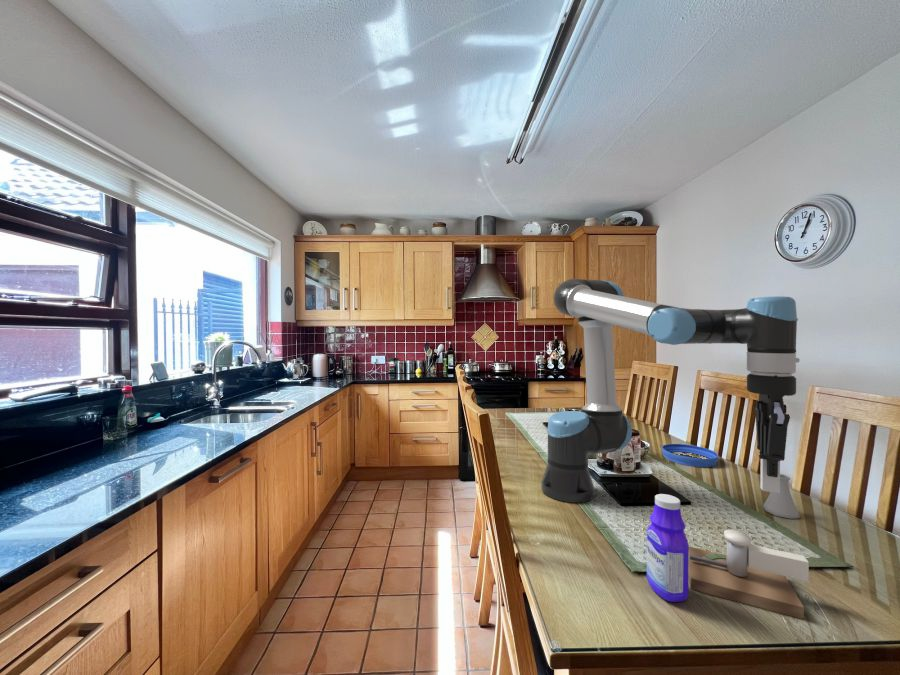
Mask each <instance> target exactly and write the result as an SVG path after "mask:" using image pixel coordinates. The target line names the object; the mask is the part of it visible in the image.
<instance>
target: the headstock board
mask: <svg viewBox="0 0 900 675" xmlns="http://www.w3.org/2000/svg"><path fill="white" fill-rule="evenodd" d="M690 555H694V556H698V557H702V558H706V559H711V560H715V561H719V562H723V563H726V554H723V553H718V552H714V551H709V550H706V549H700V548H697V547H692V546H689V557H690ZM688 571H689V575H688V576H689V583H688V584H689V587H690V590H694V591H697V592H700V593H705V594H708V595H712V596H716V597H718V598H719V597H720V598H723V599H727V600H731V601H733V602H734V601H735V602H738V603H740V604H741V603H742V604H746V605H748V606H752V607H756V608H759V609H764V610H767V611H771V612H774V613H775V612H776V613H778V614H782V615H786V616H788V617H789V616H790V617H793V618H798V619H801V620H805V619H804V618H805V608H804V607H805V606H804V605H803V604H802V601H801V600H800V598H799V597H798V596H797V594H796V592H795V590H794V588H793V587H792V585H791V584H790V582H789V580H788V578H787V576H783V575H778V574H774V573H770V572H765V571H761V570H757V569H753V568H749V567H748V565H747V576H745V577H741V576H737V575H734V574H732V573H730V572H729V571H728V570H727V569H726V568H724V567H720V566H715V565H711V564H707V563H703V562H699V561H695V560H690V558H689V565H688Z"/></svg>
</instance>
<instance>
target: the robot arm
mask: <svg viewBox="0 0 900 675" xmlns="http://www.w3.org/2000/svg"><path fill="white" fill-rule="evenodd" d="M553 302H554V306H555V307H556V309H557V310H558V311H559V312H560V313H561V314H563V315H564V316H565V315H566V316H570V317H573V318H577V324H579V326H580V327H582V328H583V342H584V343H583V345H584V362H585V363H584V364H585V381H586V382H585V384H586V387H585V388H586V403H585V405H584V406H583V407H582V411H577V410H571V411H568V410H563V411H558V412H556V413H553V414H551V415H550V417H549V418H548V422H547V429H546V432H547V463H546V467H545V471H544V472H543V476H542V477H541V478H542V479H541V481H540V482H541V485H540V486H541V491H542V493H543V494H544V495H546V496H547V497H549V498H552V499H553V500H558V501H561V502H567V503H584V502H589V501H591V500H592V499H593V498H594V497H595V486H594V483H593V479H592V477H591V473H590V471H589V456H591V455H596V454H604V453H614V452H616V451H617V452H618V451H619V450H622V449H624V448H626V447H627V446H628V445H629V443H630V442H631V439H632V435H633V433H632V432H633V430H632V425H631V422H630V421H629V419H628V417H627V416H626V415H625V414H623V408H622V407H621V406H620V405H619V404H618V403H617V390H616V388H617V387H616V368H615V353H614V351H615V350H614V334H613V333H614V332H613V329H614V328H613V327H614V326H617V327H620V328H622V329H623V328H624V329H627V330H630V331H634V332H635V333H640V334H644V335H648V336H650V337H651V338H652V339H653V340H654V341H656V342H657V343H661V344H665V345H667V344H668V345H673V346H676V345H691V344H694V345H695V344H696V345H697V344H709V345H710V344H739V345H740V344H743V345H746V350H747V352H746V371H747V372H749V373H748V374H747V375H746V390H747V391H748V392H749V393H753V394H757V395H758V400H756V401H755V402H754V404H753V407H754V412H755V425H756V426H755V427H756V430H755V431H756V448H757V450H758V452H759V454H758V457H759V459H760V467H759V468H760V477H759V478H760V483H759V485H760V486H759V487H760V489H761V491H762V492H770V493H771V492H774V493H780V474H781V461H783V462H784V460H785V458H786V457H785V455H786V448H787V446H786V445H787V437H788V426H789V422H790V419H791V417H790V416H791V415H789V413H787V405H786V404H785V403H784V399H783V398H784V397H785V396H787V397H791V396H795V395H796V393H797V378H796V376H794V375H793V374H795V373H797V363H800V361H801V360H800V358H799V357H797V330H798V328H797V326H798V325H797V324H798V323H797V322H798V320H799V318H798V315H797V303H796V300H795V299H794V298H793V297H790V296H784V295H781V296H775V295H774V296H760V297H752V298H750V299H748V300H747V303H746V307H745V308H740V309H739V308H738V309H735V308H734V309H700V308H699V309H698V308H695V309H693V308H685V307H684V308H683V307H677V306H673V305H668V304H667V305H666V304H663V303H657V302H652V301H647V300H642V299H639V298H633V297H627V296H625V294H624V292H623V290H622V288H621V287H620V286H619V285H618V284H617V283H616V282H613V281H609V280H603V279H586V278H585V279H584V278H571V279H567V280H565V281H563V282H561V283H560V284H559V285H558V287H557V288H556V289H555V291H554V294H553Z"/></svg>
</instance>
